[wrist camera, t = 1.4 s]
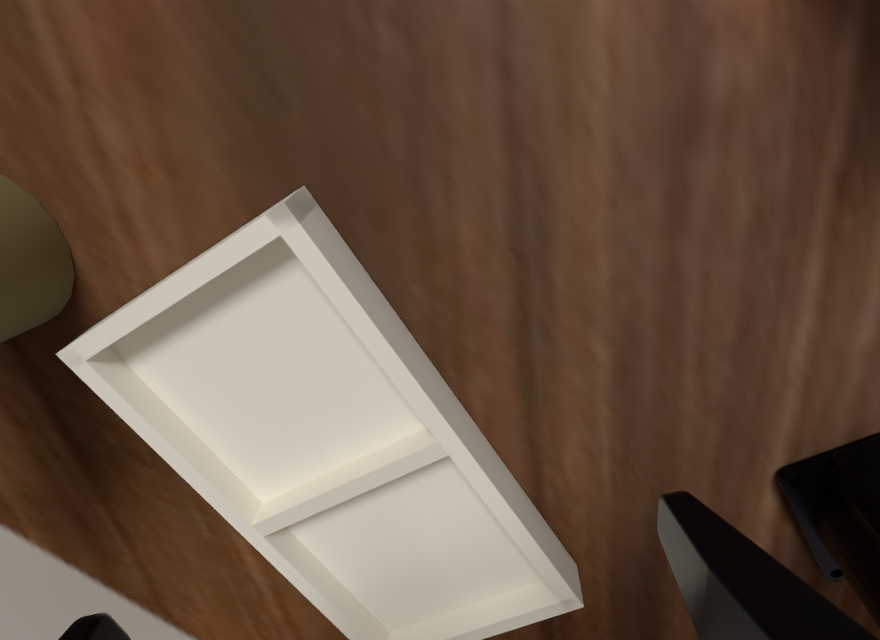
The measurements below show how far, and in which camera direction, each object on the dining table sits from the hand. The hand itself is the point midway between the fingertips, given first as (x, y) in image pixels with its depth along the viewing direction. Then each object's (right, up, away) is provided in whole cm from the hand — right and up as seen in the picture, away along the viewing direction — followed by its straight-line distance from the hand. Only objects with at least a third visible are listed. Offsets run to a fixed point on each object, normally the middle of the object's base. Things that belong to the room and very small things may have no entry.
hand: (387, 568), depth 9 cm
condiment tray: (-3, -1, +13) cm, 14 cm away
